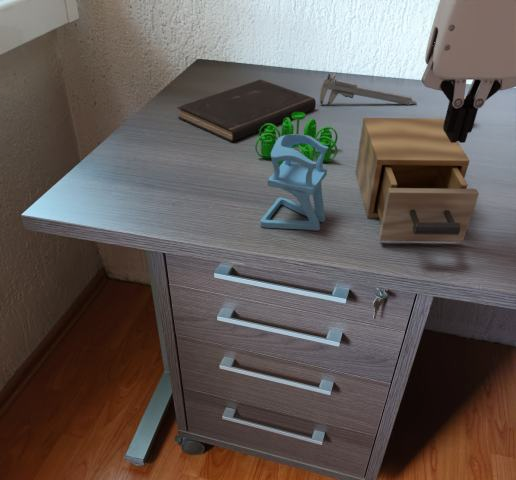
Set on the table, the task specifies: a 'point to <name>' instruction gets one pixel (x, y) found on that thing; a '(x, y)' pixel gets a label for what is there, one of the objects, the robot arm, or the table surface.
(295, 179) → the chair
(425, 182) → the drawer
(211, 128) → the hardcover book
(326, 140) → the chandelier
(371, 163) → the cabinet
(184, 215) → the table surface
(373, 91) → the caliper
